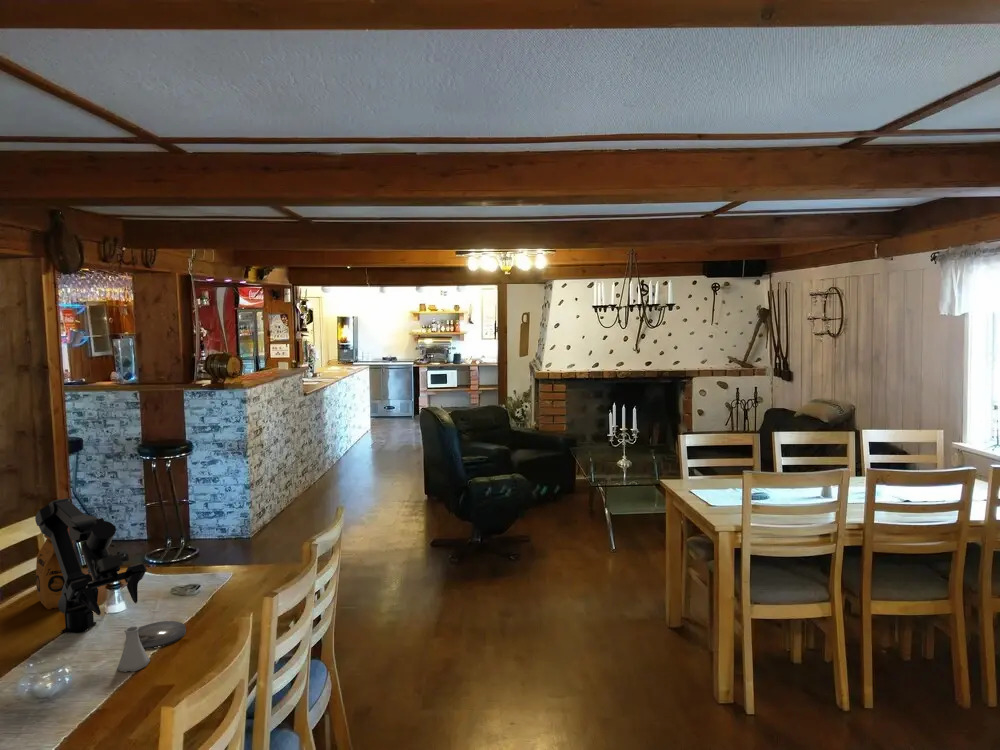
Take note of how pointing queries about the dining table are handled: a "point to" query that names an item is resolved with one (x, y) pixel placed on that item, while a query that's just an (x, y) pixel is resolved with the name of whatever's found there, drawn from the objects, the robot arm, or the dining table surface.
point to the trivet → (161, 633)
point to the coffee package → (48, 576)
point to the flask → (133, 652)
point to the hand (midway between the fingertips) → (118, 608)
